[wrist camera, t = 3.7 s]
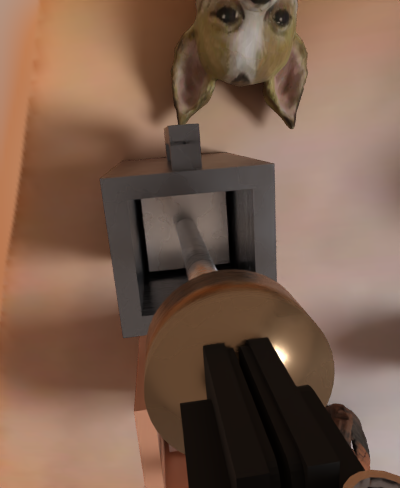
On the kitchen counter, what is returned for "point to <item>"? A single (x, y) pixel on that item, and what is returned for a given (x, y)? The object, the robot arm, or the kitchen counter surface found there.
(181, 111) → the ceramic sculpture
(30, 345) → the kitchen counter surface
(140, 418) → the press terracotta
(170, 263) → the plunger bronze
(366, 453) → the brown curved piece
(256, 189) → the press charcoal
